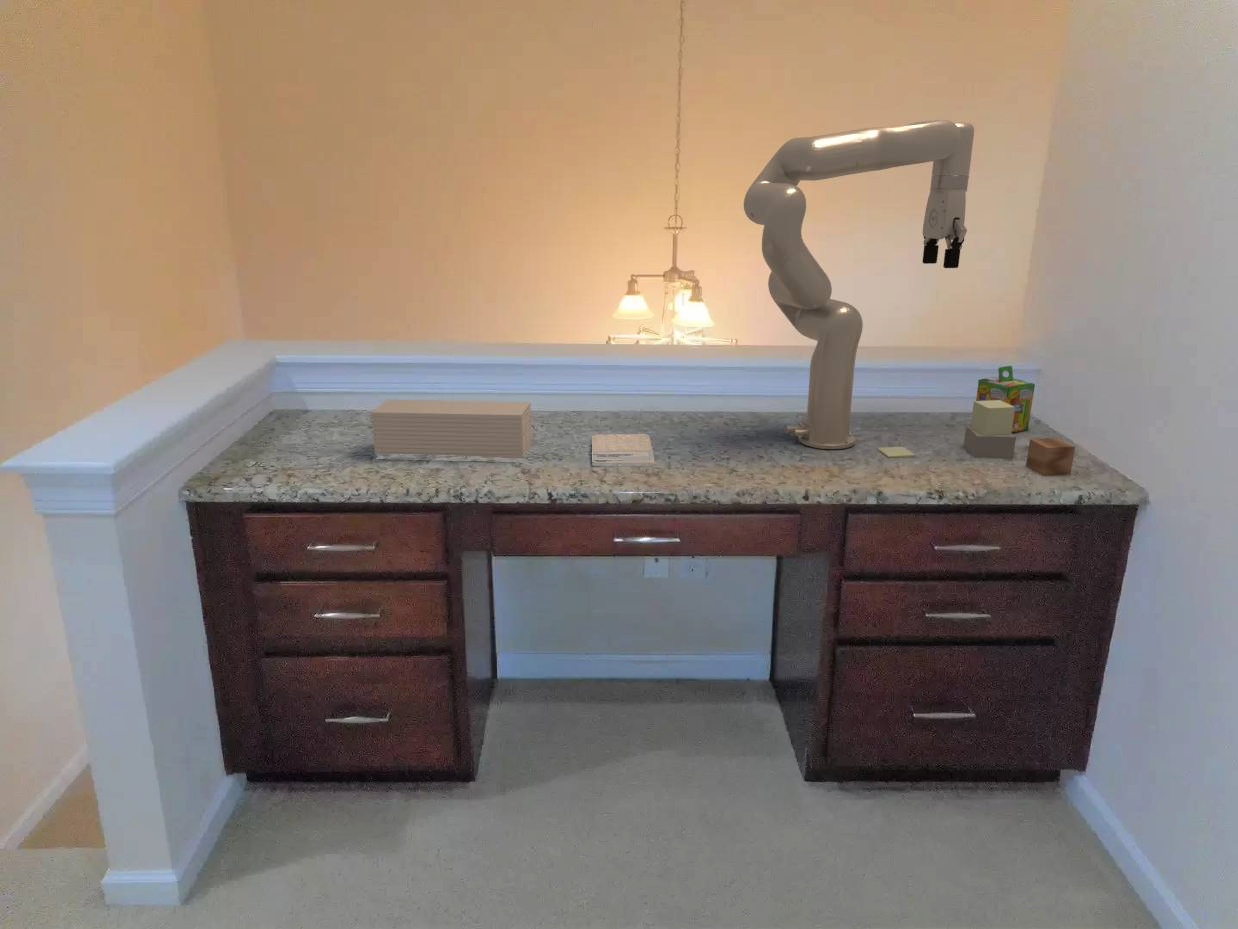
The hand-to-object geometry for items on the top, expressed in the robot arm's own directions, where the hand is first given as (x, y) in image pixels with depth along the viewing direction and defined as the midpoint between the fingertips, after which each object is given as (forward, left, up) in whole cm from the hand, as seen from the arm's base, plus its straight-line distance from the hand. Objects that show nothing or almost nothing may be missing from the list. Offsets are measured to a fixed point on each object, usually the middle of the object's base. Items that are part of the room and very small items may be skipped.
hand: (939, 265), depth 191 cm
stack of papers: (-108, -2, -39) cm, 115 cm away
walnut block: (+13, -30, -38) cm, 50 cm away
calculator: (-72, -6, -39) cm, 82 cm away
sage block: (+7, -17, -34) cm, 38 cm away
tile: (-13, -15, -38) cm, 43 cm away
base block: (+7, -17, -39) cm, 43 cm away
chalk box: (+20, 0, -39) cm, 43 cm away
